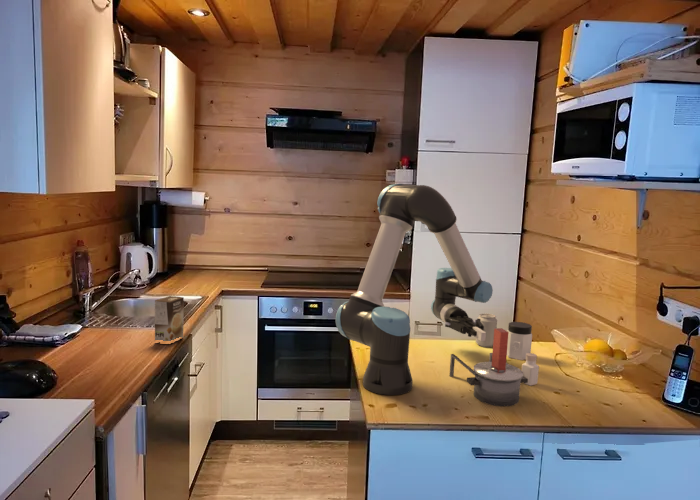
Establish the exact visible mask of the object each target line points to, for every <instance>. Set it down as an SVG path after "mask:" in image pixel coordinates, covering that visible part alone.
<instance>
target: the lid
mask: <svg viewBox="0 0 700 500" xmlns="http://www.w3.org/2000/svg"><path fill="white" fill-rule="evenodd" d="M508 333H509V332H507V330H506V329H504V328H501V327H500V328H494V340H493V346H492V352H491V353H492V362H489V361H483V362H482V361H481V362H478V363H476V364H475V365H474V366H473V370H474V372H475V373H476V374H478V375H479V376H481V377H484V378H487V379H491V380H496V381H506V382H508V381H517V380H520V379H521V378H522V377H523V372H522V369H520V368H519V367H517V366H515V365H512V364H509V363H508V364H506V363H507V358H508V356H507V345H508Z"/></svg>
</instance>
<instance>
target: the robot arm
mask: <svg viewBox="0 0 700 500" xmlns="http://www.w3.org/2000/svg"><path fill="white" fill-rule="evenodd" d="M376 202H377V205H376V206H377V211H378V213H379V215H378V219H379V221H380V223H381V224H380V227H379V230H378V233H377V235H376V237H375V241H374V244H373V246H372V249H371V252H370V253H369V256H368V260H367V263H366V265H365V269H364V272H363V274H362V276H361V279H360V282H359V285H358V289H357V291H356V292H354V293H352V294H350V297H349V299H348V301H345V302H343V303H342V304H340V306H339V307H338V308H337V310H336V311H337V312H336V314H335V326H336V328H337V331H338V333H340V335H342V336H343V337H345V338H347V339H348V340H350V341H353V342H357V343H360V344H361V345H365V346H366V347H370V348H369V361H368V363H367V366H366V369H365V372H364V374H363V378H362V385H363V387H364V388H365V389H366V390H368V391H369V392H372V393H375V394H378V395H386V396H399V395H403V394H407V393H409V392H410V391H411V390H412V389H413V381H414V380H413V376H412V373H411V369H410V366H409V352H410V351H409V350H410V340H411V339H410V338H411V320H410V316H409V314H408V313H407V312H405V311H404V310H401V309H399V308H396V307H390V306H385V305H384V303H383V298H384V296H385V293H386V290H387V287H388V284H389V282H390V279H391V276H392V272H393V270H394V267H395V264H396V262H397V259H398V256H399V254H400V250H401V247H402V245H403V242H404V240H405V236H406V234H407V232H409V231H411V230H413V227H414V224H415V222H420V223H423V224H424V225H425V226H426V227H427V229H428V231H429V232H430V233H432V234H434V236H435V238H436V240H437V241H438V243H439V245H440V248H441V249H442V252H443V255H444V256H445V258H446V261H447V262H448V264H449V265H450V267H440V268H438V269H437V271H436V279H435V292H434V293H435V294H434V295H435V296H434V299H433V301H432V302H431V304H430V310H431V312H432V314H433V315H434V316H435V318H437V319H439V320H440V321H442V322H443V323H445V324H444V325H445V326H444V327H445V328H448V329H451V330H454V331H455V332H458V333H460V334H463V335H466V334H467V337H469V338H471V337H472V336H473V337H474V338H475V339H476V338H477V339H479V340H480V341H485V339H486V332H484V326H483V324H482V323H481V322H480V320H481V319H477V318H476V319H473V318H471V317H469V315H468V314H467V312H466V310H463V308H461V307H459V306H458V305H456V299H457V298H460V299H464V300H469V301H472V302H475V303H481V304H482V303H483V304H486V303H487V302H489V301H490V299H491V298H492V296H493V291H494V290H493V285H492V284H491V283H490V282H488V281H486V280H482V278H481V276H480V274H479V271H478V269H477V267H476V264H475V263H474V260H473V258H472V255H471V254H470V252H469V249H468V247H467V246H466V243H465V241H464V239H463V236H462V235H461V232H460V231H459V228H458V226H457V224H456V223H457V220H458V219H457V215H456V214H455V212H454V210H453V208H452V206H451V205H450V203H449V202H448V201H447V199H446V198H445V197H444V196H443V195H442V194H441V193H440V192H439V191H438V190H437V189H435V188H434V187H432V186H429V185H425V184H420V185H419V184H404V183H394V184H390V185H388V186H386V187H384V188H383V189H382V191H380V193H379V196H378V197H377V201H376Z"/></svg>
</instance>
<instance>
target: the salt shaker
mask: <svg viewBox="0 0 700 500" xmlns="http://www.w3.org/2000/svg"><path fill="white" fill-rule="evenodd" d="M537 357H538V356H537V354H535V353H533V352H531V353H527V354H526V359H525V362H524V363H522V364H521V370H522V372H523V376H524V377H526V378H527V379H528V383H523V385H524V384H525V385H527V386H530V387H531V386H534V385H537V384H538V380H539V369H540V366H539V365H538V364H537Z"/></svg>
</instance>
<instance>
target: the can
mask: <svg viewBox="0 0 700 500" xmlns="http://www.w3.org/2000/svg"><path fill="white" fill-rule="evenodd" d="M496 317H497V316H496V315H494V314H492V313H485V312H484V313H480V314H479V316H477V318H476V320H477V319H481V320H480V322H481V323H482V324H483V326H484V332H486V339H485V341H480V340H479V339H477V338H476V337H475V343H476V344H477V345H478V346H479V347H483V348H493V340H494V328H497V325H498V319H497V318H496Z"/></svg>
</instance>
